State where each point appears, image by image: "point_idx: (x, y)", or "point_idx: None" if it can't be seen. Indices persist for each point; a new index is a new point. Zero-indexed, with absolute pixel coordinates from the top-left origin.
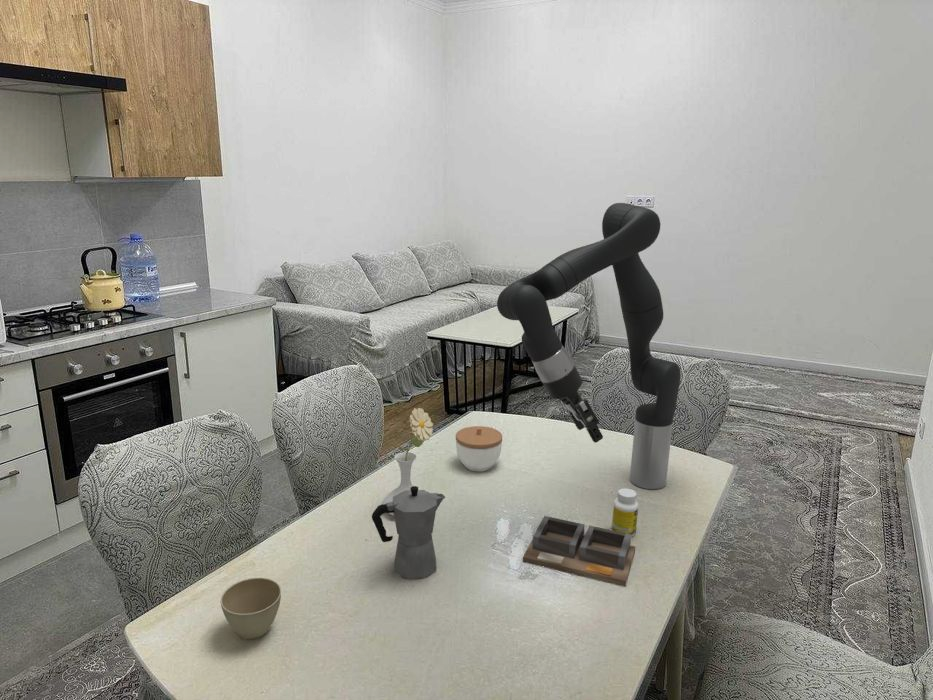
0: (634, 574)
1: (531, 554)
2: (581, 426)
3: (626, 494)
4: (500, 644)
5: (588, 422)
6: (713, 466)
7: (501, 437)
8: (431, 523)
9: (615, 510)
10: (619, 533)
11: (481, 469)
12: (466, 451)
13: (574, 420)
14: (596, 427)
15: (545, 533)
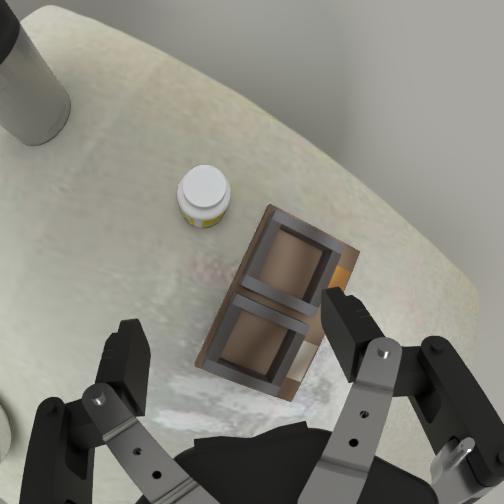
0: (329, 228)
1: (286, 389)
2: (144, 346)
3: (214, 190)
4: None
5: (418, 392)
6: (37, 20)
7: None
8: None
9: (212, 220)
10: (273, 231)
11: (7, 419)
12: (2, 460)
13: (145, 394)
14: (383, 335)
15: (231, 363)
